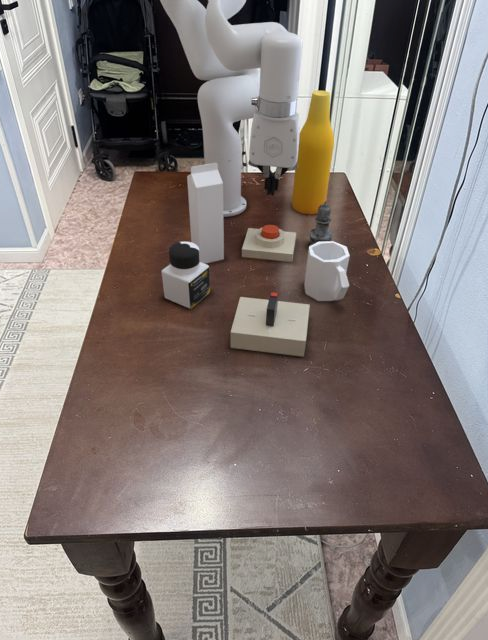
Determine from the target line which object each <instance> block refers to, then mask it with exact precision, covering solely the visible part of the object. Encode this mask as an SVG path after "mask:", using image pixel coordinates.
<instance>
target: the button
mask: <svg viewBox="0 0 488 640" xmlns="http://www.w3.org/2000/svg"><path fill="white" fill-rule="evenodd" d="M261 228H262V237H264V238H266V239H275V238H278V236H279V229H280V228H279V226H277V225H275V224H266V225H263V226H262V227H261Z"/></svg>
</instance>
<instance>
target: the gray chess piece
mask: <svg viewBox="0 0 488 640" xmlns="http://www.w3.org/2000/svg"><path fill="white" fill-rule="evenodd" d="M331 211H332V208H331V206H330V205H329V204H328V202H327V200H326V201H325V202H324V204H322V205H320V206H319V208H318V214H316V215H317V216H316V217H315V218H314V220H315V227H314V228H312V229H310V230H309V232H308V236H309V239H310V242H309V243H308V248H309V247H310V246H311V245H313V244H315V243H317V242H325V241H332V239H333V238H334V233H333V231H331V230H330V229H329V227H330V223H331V221H332V219H331V217H330V216H331Z"/></svg>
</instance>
